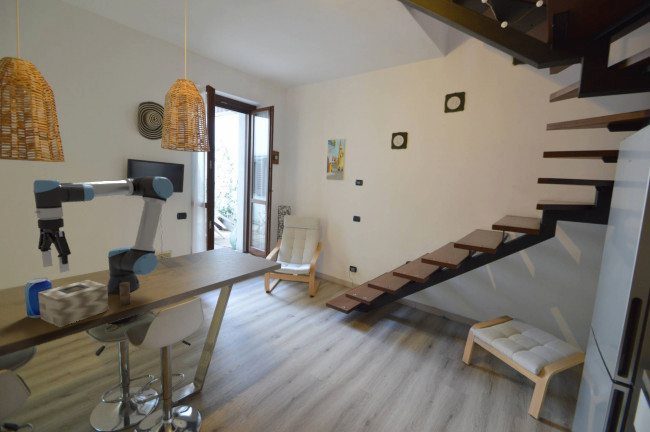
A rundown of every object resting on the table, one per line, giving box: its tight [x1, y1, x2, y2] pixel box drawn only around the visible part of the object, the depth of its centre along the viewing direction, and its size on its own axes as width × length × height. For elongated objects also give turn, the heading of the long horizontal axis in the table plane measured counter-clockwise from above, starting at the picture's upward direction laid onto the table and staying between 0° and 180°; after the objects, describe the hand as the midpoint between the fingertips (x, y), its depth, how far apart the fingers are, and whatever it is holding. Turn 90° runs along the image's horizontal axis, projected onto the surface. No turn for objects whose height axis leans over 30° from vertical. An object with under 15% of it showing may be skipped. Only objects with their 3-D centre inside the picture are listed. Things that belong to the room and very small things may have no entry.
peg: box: [119, 282, 132, 308], centre depth 138 cm, size 4×4×11 cm
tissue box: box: [38, 279, 110, 328], centre depth 127 cm, size 18×16×12 cm
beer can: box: [23, 277, 53, 319], centre depth 125 cm, size 8×8×16 cm
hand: (56, 268), depth 117 cm, fingers open, 13 cm apart
